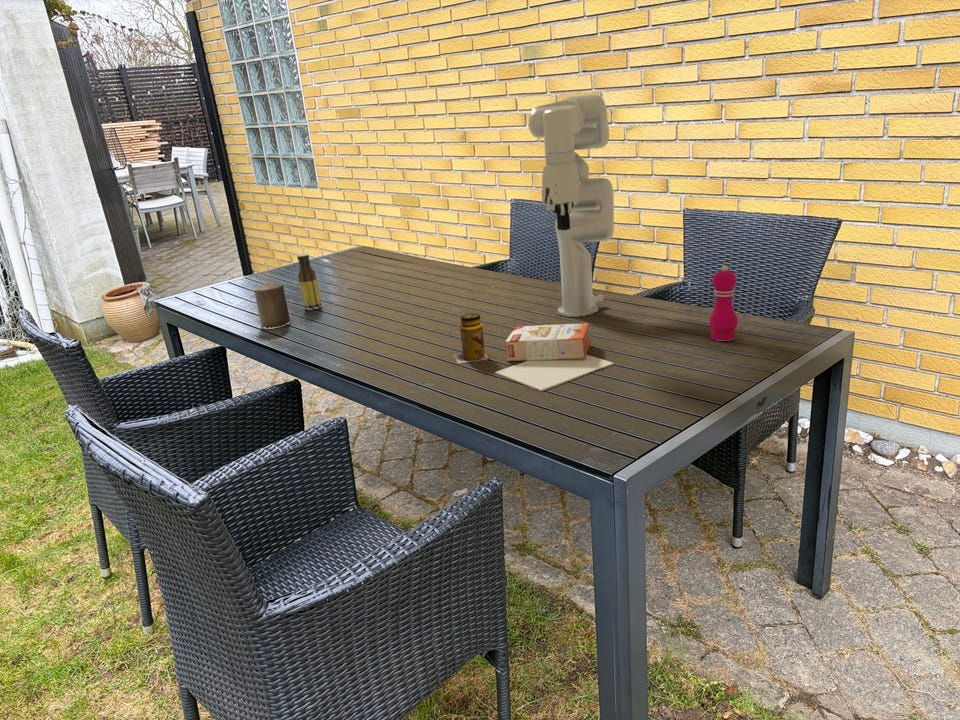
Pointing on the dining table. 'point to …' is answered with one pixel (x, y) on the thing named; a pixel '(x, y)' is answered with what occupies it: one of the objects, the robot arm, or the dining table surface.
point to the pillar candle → (272, 305)
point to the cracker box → (548, 342)
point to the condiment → (471, 339)
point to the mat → (552, 371)
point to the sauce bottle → (308, 283)
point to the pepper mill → (723, 306)
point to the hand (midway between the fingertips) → (563, 229)
